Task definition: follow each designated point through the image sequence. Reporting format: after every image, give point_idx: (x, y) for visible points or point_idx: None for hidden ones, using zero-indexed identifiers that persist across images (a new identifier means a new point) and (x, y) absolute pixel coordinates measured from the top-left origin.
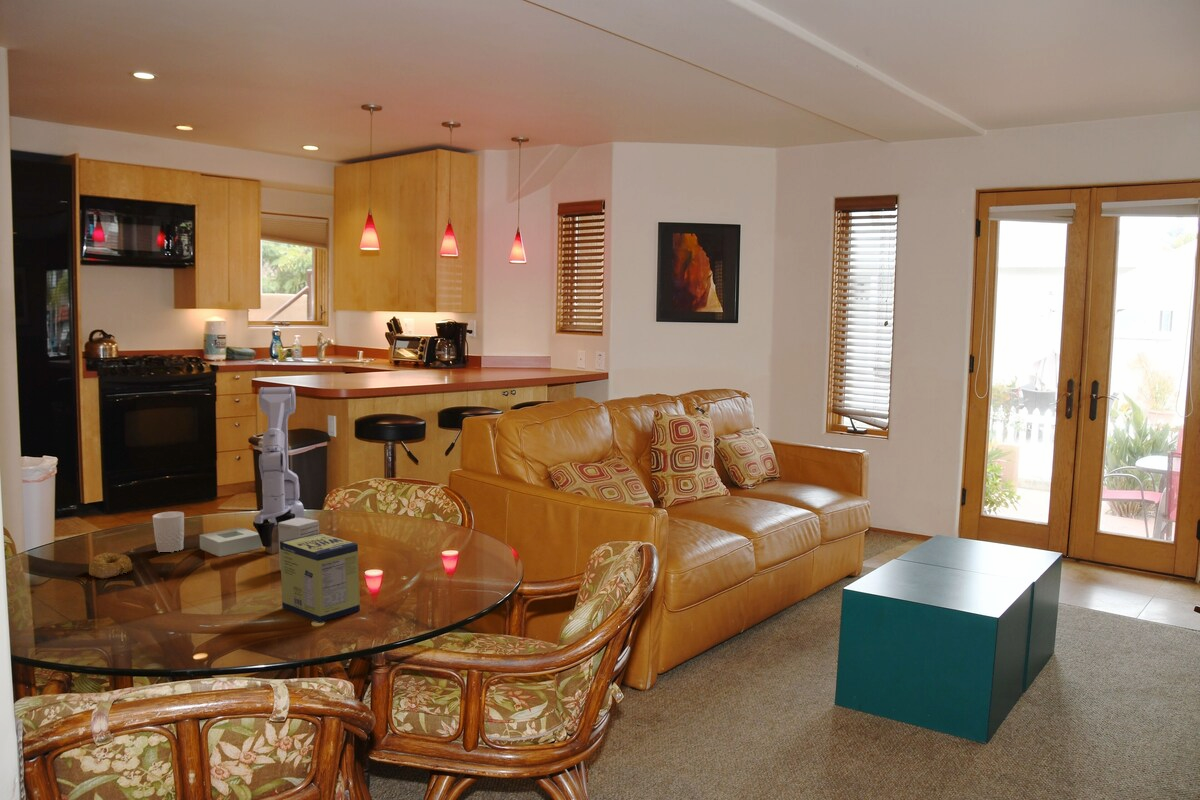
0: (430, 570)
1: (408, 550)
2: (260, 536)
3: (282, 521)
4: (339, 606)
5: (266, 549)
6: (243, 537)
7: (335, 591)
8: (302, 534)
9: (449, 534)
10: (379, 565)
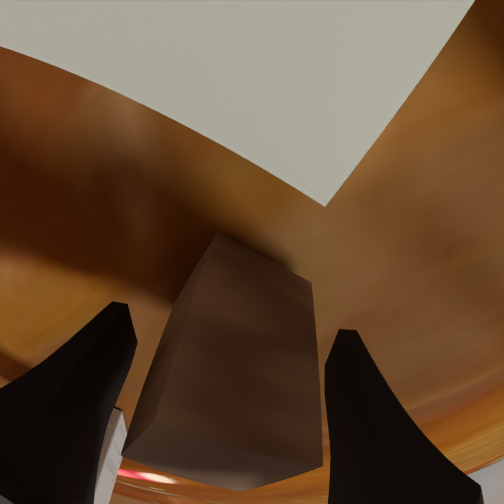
0: (202, 501)
1: (312, 494)
2: (57, 357)
3: (351, 493)
4: None
5: (204, 256)
6: (88, 74)
7: None
8: None
9: None
10: (197, 484)
